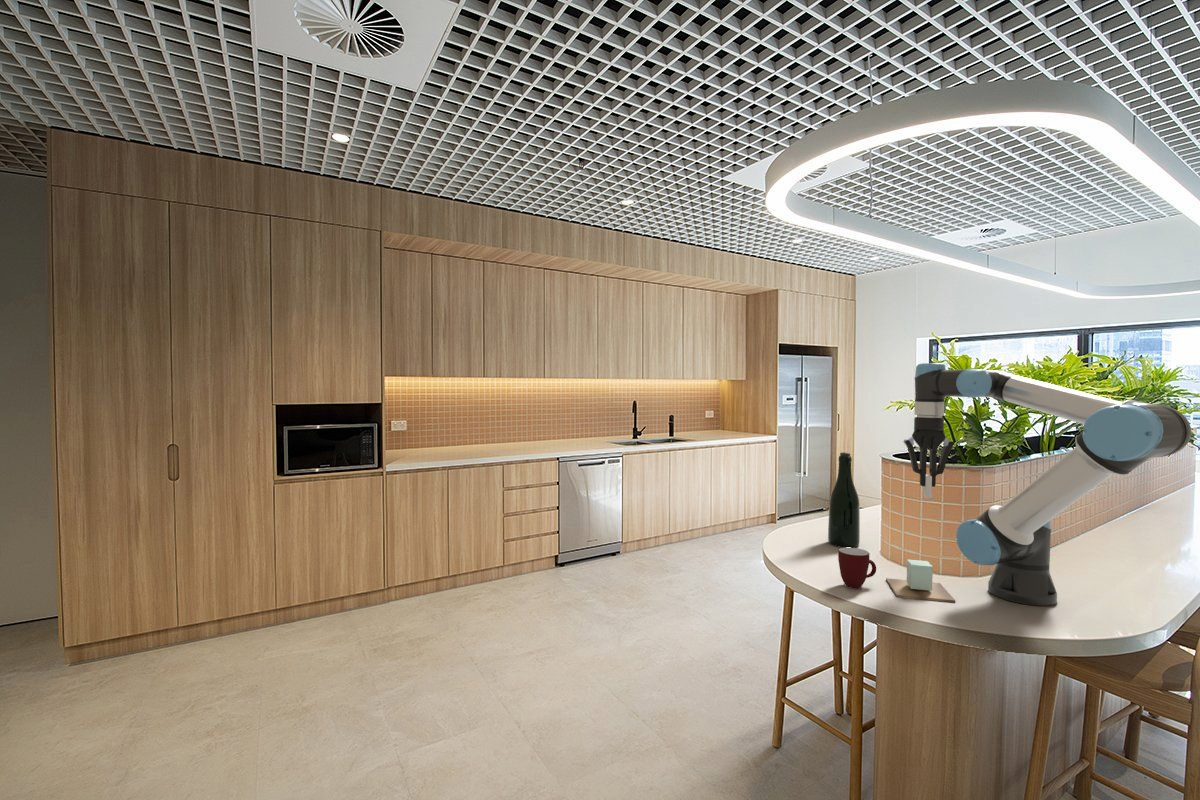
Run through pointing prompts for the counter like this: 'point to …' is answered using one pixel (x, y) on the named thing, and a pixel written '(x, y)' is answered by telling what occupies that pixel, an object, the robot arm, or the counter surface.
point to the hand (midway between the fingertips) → (927, 497)
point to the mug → (855, 566)
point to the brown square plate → (919, 591)
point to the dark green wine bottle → (844, 507)
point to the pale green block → (919, 574)
